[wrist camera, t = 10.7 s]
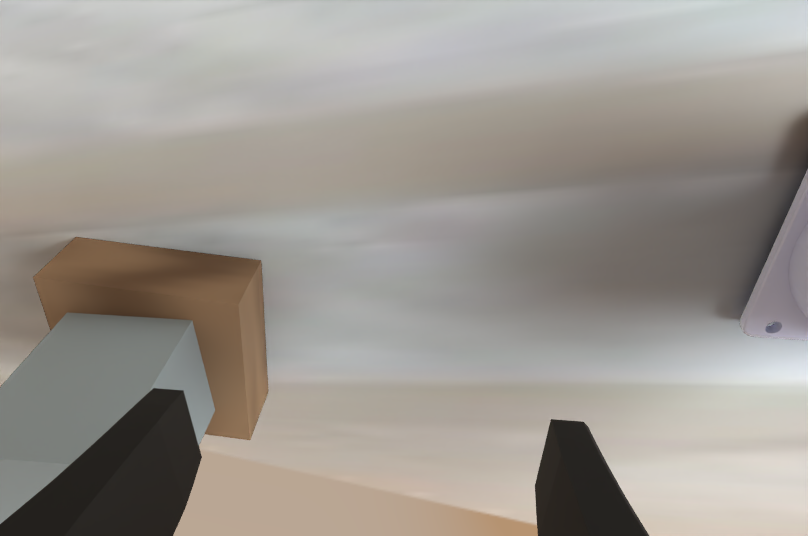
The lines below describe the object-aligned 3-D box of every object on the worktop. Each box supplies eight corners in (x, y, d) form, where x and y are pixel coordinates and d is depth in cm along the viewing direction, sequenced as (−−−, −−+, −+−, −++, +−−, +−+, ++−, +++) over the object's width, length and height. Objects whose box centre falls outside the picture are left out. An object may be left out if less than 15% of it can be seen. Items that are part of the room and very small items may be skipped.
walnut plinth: (264, 255, 22) (238, 304, 19) (270, 385, 26) (250, 440, 23) (81, 231, 22) (32, 277, 20) (115, 365, 26) (79, 417, 24)
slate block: (192, 320, 20) (103, 467, 15) (215, 409, 23) (145, 561, 18) (67, 312, 20) (-60, 454, 15) (103, 402, 23) (4, 548, 18)
